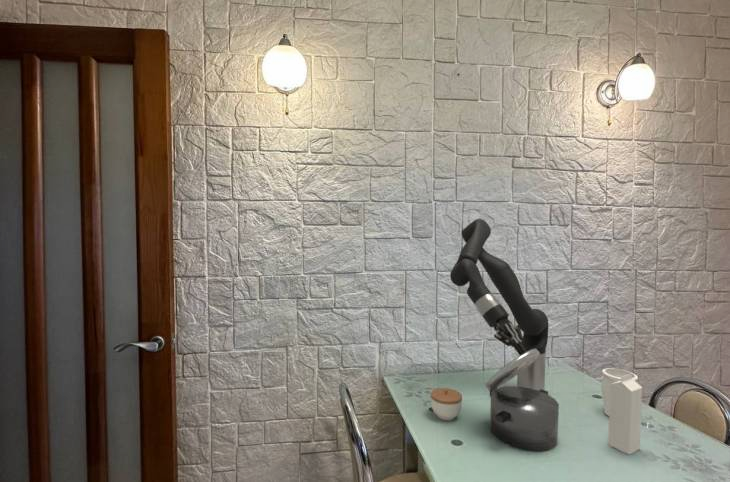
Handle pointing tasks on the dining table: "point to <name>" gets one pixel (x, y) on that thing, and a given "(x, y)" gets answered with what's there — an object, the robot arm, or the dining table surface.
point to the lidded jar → (446, 403)
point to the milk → (625, 415)
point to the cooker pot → (524, 418)
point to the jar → (611, 377)
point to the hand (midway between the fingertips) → (524, 354)
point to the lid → (512, 369)
